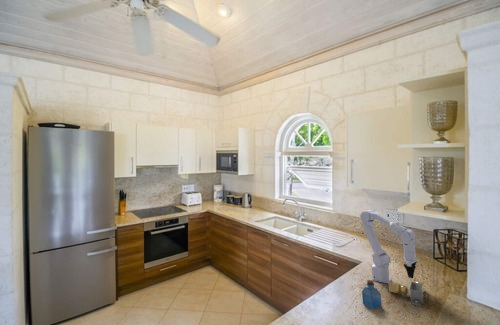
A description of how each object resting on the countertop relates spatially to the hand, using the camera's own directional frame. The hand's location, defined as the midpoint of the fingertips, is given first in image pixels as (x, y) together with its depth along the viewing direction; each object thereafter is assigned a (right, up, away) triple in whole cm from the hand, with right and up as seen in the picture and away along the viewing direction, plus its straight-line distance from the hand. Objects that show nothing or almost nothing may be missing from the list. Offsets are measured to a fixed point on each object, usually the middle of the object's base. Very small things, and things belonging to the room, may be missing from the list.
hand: (411, 275), depth 135 cm
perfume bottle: (-29, -10, -12) cm, 33 cm away
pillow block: (-2, -9, -8) cm, 12 cm away
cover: (+5, -9, 0) cm, 10 cm away
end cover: (-9, -9, -4) cm, 13 cm away
